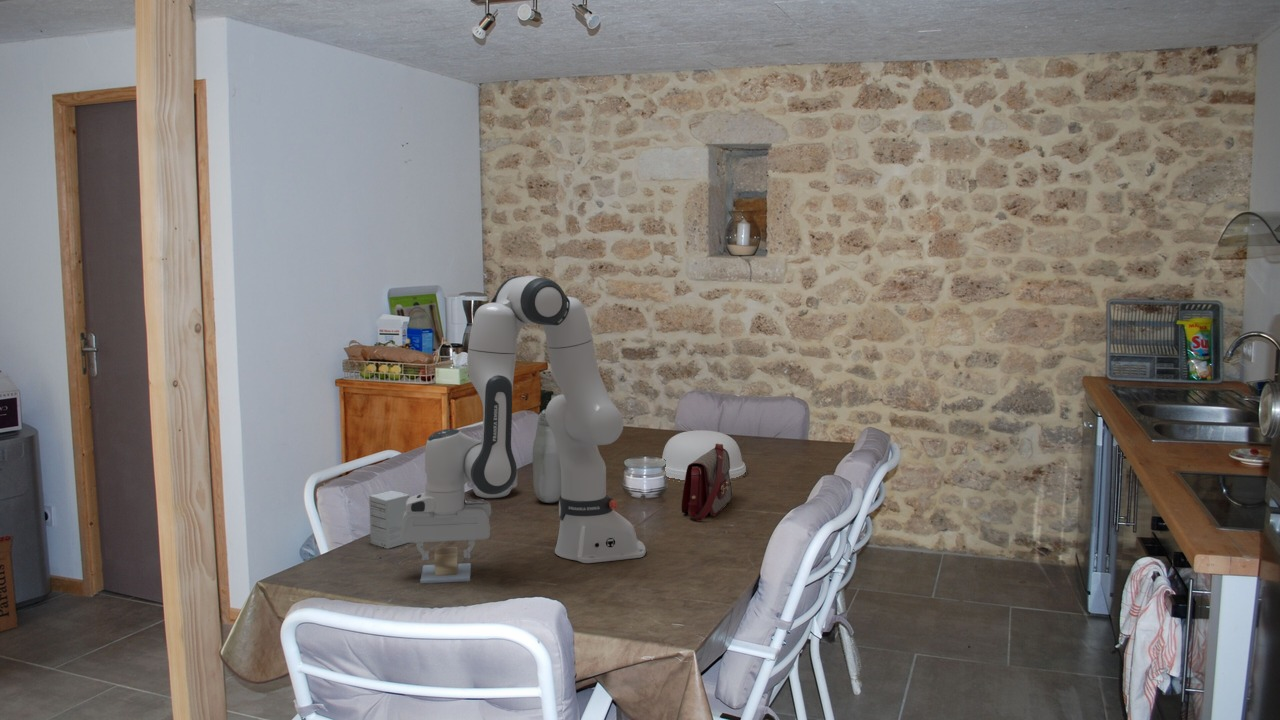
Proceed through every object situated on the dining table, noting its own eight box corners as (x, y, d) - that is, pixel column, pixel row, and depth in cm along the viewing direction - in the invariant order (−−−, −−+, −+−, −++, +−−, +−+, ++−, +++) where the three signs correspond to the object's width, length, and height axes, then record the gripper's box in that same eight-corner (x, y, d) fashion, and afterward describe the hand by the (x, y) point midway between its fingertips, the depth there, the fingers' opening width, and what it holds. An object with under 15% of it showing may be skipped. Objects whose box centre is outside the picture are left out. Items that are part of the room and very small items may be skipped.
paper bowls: (522, 489, 308) (522, 464, 307) (511, 501, 293) (511, 475, 292) (474, 488, 310) (474, 463, 309) (461, 500, 295) (460, 474, 294)
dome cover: (643, 466, 343) (644, 426, 341) (722, 460, 353) (722, 422, 351) (678, 487, 313) (678, 444, 311) (763, 480, 323) (763, 438, 321)
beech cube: (457, 567, 230) (457, 546, 230) (457, 574, 225) (456, 553, 225) (436, 568, 230) (435, 547, 229) (434, 575, 225) (434, 554, 224)
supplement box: (393, 537, 256) (392, 489, 255) (411, 542, 252) (410, 494, 250) (369, 543, 251) (368, 495, 249) (387, 549, 246) (386, 500, 245)
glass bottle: (562, 507, 287) (562, 412, 284) (528, 505, 289) (528, 410, 286) (571, 498, 297) (571, 406, 294) (539, 496, 299) (538, 405, 296)
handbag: (712, 524, 271) (712, 462, 269) (675, 520, 274) (676, 459, 272) (737, 500, 297) (738, 443, 295) (704, 497, 300) (704, 440, 298)
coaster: (470, 565, 234) (470, 563, 234) (470, 581, 223) (470, 578, 223) (423, 567, 232) (423, 565, 232) (420, 583, 221) (420, 580, 221)
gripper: (491, 495, 230) (491, 553, 232) (401, 498, 227) (402, 556, 229) (491, 502, 224) (491, 561, 226) (398, 505, 221) (400, 565, 223)
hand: (446, 559), depth 227 cm, fingers open, 8 cm apart
